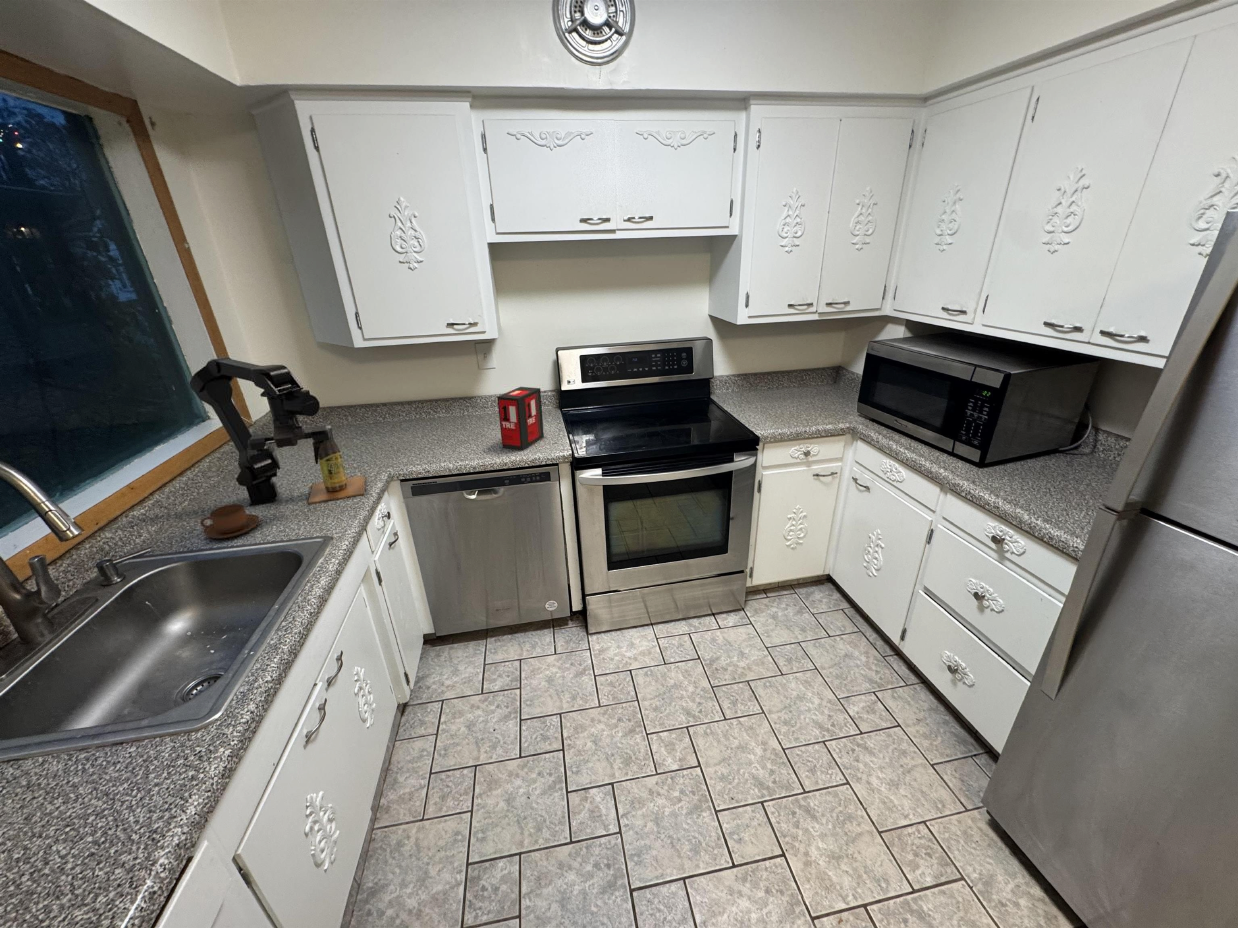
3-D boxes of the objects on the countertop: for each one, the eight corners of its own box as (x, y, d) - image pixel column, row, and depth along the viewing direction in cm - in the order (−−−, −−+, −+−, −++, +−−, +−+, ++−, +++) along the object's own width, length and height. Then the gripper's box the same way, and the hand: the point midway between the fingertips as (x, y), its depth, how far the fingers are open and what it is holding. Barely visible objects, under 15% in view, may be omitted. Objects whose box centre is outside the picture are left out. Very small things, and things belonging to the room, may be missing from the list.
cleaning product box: (524, 434, 206) (520, 386, 198) (543, 436, 203) (540, 388, 196) (502, 447, 192) (497, 396, 184) (522, 450, 189) (518, 398, 181)
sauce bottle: (333, 494, 153) (318, 432, 146) (321, 490, 156) (305, 429, 149) (353, 486, 159) (339, 426, 151) (340, 482, 162) (326, 423, 154)
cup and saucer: (211, 547, 126) (203, 526, 124) (201, 531, 134) (193, 511, 132) (266, 530, 134) (259, 509, 132) (254, 515, 142) (247, 496, 140)
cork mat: (308, 504, 149) (307, 502, 148) (313, 485, 161) (312, 483, 161) (364, 494, 154) (364, 493, 154) (364, 477, 167) (364, 475, 167)
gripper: (235, 426, 125) (253, 483, 131) (320, 416, 133) (334, 470, 139) (245, 414, 135) (261, 468, 141) (323, 406, 142) (336, 457, 148)
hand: (298, 466), depth 142 cm, fingers open, 9 cm apart
